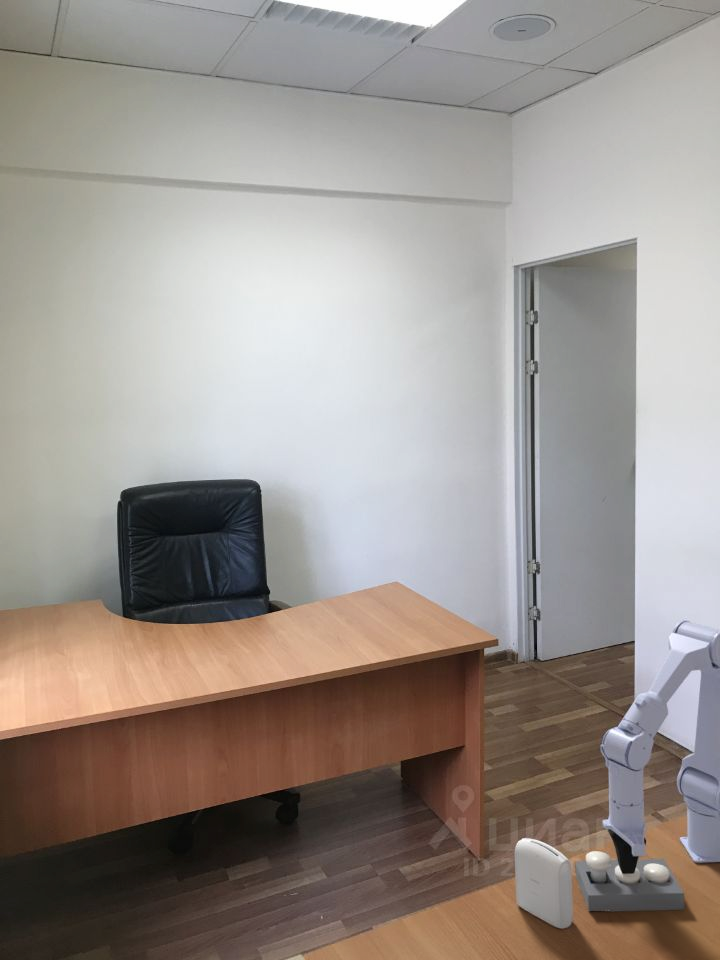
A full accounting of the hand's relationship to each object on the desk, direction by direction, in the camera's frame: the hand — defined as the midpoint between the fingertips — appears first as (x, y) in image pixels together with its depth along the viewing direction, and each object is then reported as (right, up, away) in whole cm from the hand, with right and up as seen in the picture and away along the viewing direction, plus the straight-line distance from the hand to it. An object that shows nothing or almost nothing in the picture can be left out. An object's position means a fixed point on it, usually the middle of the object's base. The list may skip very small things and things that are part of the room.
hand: (627, 871), depth 142 cm
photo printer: (-15, -5, -4) cm, 17 cm away
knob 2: (+5, -4, 0) cm, 6 cm away
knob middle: (0, -4, +1) cm, 4 cm away
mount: (0, -4, 0) cm, 4 cm away
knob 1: (-5, -2, 0) cm, 5 cm away
